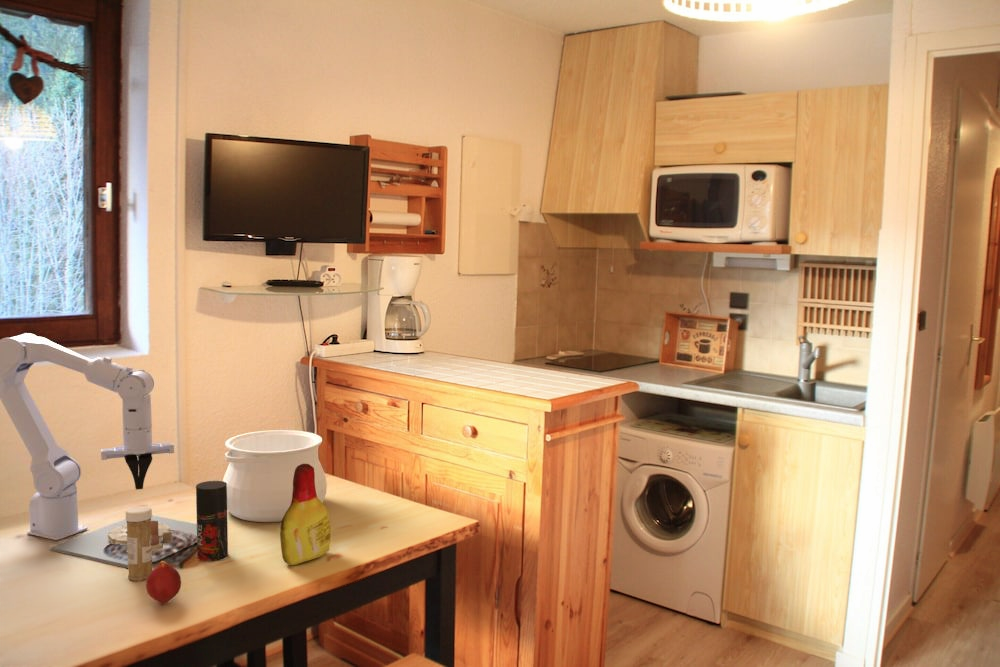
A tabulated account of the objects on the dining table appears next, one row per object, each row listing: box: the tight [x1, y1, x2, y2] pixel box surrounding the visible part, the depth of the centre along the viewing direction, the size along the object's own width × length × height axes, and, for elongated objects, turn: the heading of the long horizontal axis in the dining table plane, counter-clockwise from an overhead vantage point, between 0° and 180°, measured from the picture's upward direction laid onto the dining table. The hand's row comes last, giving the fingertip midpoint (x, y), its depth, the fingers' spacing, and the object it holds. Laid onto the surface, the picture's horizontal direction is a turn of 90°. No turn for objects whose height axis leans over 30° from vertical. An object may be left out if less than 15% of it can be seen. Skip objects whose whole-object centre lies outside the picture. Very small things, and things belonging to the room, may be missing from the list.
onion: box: [145, 560, 182, 605], centre depth 148 cm, size 6×6×8 cm
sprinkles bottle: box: [125, 505, 154, 582], centre depth 160 cm, size 5×5×14 cm
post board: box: [49, 514, 197, 569], centre depth 179 cm, size 24×24×5 cm
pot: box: [222, 429, 328, 523], centre depth 201 cm, size 26×24×17 cm
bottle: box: [279, 464, 332, 566], centre depth 169 cm, size 12×6×20 cm, turn 143°
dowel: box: [163, 531, 172, 543], centre depth 175 cm, size 2×2×3 cm
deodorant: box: [195, 480, 229, 563], centre depth 170 cm, size 6×6×15 cm
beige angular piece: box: [108, 521, 170, 551], centre depth 177 cm, size 17×12×6 cm
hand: (139, 488), depth 183 cm, fingers closed
